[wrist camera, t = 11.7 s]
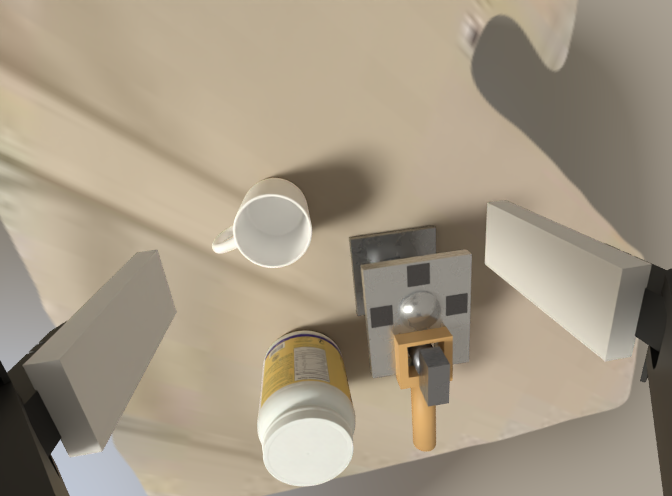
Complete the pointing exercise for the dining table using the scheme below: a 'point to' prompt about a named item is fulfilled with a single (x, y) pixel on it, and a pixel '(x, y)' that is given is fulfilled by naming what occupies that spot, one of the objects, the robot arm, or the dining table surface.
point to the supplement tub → (305, 410)
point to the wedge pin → (431, 373)
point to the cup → (269, 225)
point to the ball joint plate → (409, 292)
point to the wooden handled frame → (410, 379)
